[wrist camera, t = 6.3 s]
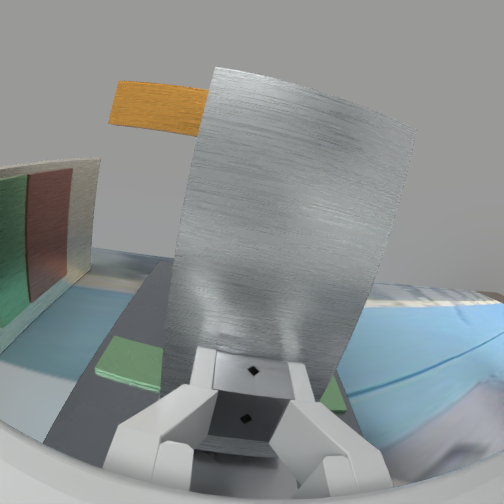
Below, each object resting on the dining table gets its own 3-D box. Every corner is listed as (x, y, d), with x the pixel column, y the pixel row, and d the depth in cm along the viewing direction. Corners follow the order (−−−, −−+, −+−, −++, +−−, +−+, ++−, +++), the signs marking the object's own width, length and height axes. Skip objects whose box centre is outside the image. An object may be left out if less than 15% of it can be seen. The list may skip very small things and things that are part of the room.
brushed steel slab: (286, 458, 10) (416, 129, 6) (74, 414, 9) (82, 58, 5) (273, 368, 15) (342, 138, 12) (119, 336, 14) (149, 97, 11)
